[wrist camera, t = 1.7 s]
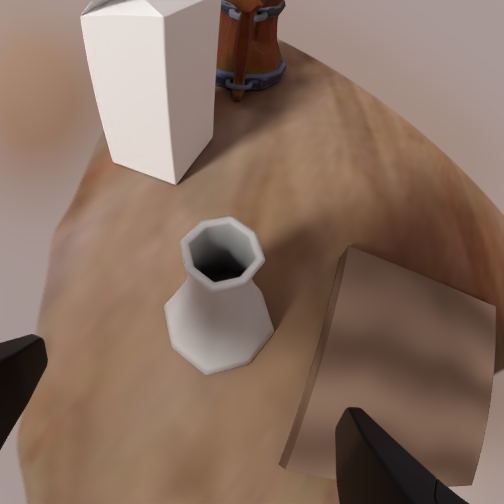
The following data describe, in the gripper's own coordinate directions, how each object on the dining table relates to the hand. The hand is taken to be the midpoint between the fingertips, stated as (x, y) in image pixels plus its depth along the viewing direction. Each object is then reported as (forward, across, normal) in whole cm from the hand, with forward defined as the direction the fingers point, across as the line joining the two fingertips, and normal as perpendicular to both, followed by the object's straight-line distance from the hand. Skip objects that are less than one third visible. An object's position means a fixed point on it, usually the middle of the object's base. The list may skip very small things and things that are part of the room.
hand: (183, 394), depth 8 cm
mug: (+33, +4, -16) cm, 37 cm away
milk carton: (+23, +9, -6) cm, 25 cm away
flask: (+12, 0, +5) cm, 13 cm away
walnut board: (+10, -15, +6) cm, 19 cm away
